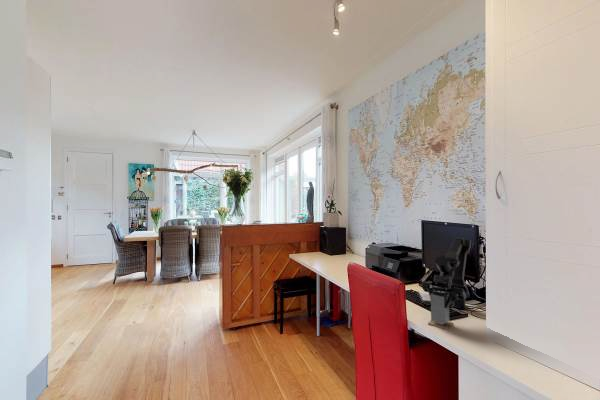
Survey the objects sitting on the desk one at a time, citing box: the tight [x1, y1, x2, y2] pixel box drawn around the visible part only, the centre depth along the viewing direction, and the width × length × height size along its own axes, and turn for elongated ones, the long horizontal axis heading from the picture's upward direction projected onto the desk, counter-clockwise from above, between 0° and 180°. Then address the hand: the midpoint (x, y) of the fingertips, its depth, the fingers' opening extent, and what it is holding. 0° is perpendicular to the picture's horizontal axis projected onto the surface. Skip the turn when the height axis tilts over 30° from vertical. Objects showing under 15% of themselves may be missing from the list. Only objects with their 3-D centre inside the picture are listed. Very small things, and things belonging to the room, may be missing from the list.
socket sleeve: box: [430, 290, 450, 323], centre depth 124 cm, size 6×6×12 cm
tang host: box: [427, 319, 454, 331], centre depth 124 cm, size 8×8×4 cm
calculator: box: [417, 290, 431, 304], centre depth 153 cm, size 11×4×15 cm
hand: (438, 306), depth 123 cm, fingers open, 6 cm apart
